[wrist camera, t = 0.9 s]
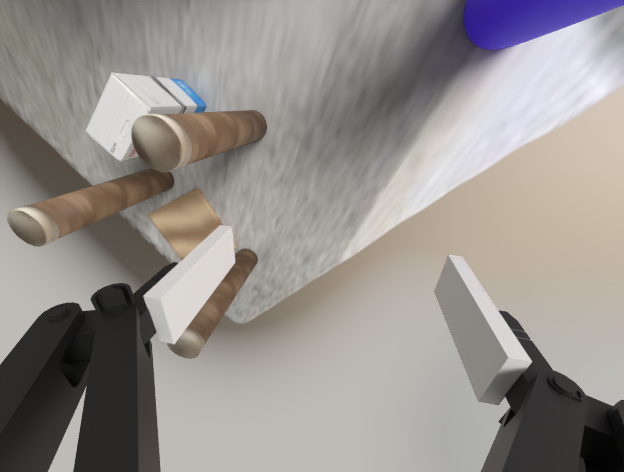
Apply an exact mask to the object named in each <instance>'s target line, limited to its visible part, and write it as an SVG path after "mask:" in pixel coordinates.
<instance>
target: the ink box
mask: <svg viewBox="0 0 624 472" xmlns="http://www.w3.org/2000/svg"><path fill="white" fill-rule="evenodd" d="M206 107H207V106H206V104H205V103H204V102H203V101H202V100H201V98H200V97H199V96H198V95H197V94H196V93H195V92H194V91H193V90H192V89H191V88H190V87H189V86H188V85H187V84H185V83H184V82H183V81H182V80H179V79H169V78H160V77H150V76H141V75H131V74H122V73H114V72H111V75H110V77H109V80H108V82H107V84H106V86H105V88H104V91H103V93H102V95H101V97H100V100H99V102H98V104H97V107H96V109H95V111H94V113H93V116H92V118H91V120H90V122H89V124H88V127H87V129H86V131H85V132H86V133H87V134H88V135H89V136H90V137H91V138H92V139H94V140H95V141H96V142H97V143H98V144H100V145H101V146H102V147H103V148H104V149H105V150H106V151H108V152H109V153H110V154H111V155H112V156H113V157H115V158H116V159H117V160H118V161H119V162H122V161H126V160H130V159H133V158H137V157H139V156H138V154H137V153H136V151H135V149H134V146H133V143H132V139H131V129H132V125H133V123H134V121H135V120H136V119H137V118H138V117H140V116H142V115H146V114H182V113H202V112H203V111H204V110H205V108H206Z"/></svg>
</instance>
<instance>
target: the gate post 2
mask: <svg viewBox="0 0 624 472" xmlns="http://www.w3.org/2000/svg"><path fill="white" fill-rule="evenodd" d="M266 130H267V124H266V121H265V119H264V117H263V116H262V115H261V114H260V113H259V112H257V111H253V110H249V111H226V112H204V113H182V114H146V115H142V116H140V117H138V118H137V119H136V120H135V121H134V123H133V125H132V129H131V139H132V143H133V146H134V149H135V151H136V153H137V154H138V156H139V157H140V158H141V160H142V161H143V162H144V163H146V164H147V165H148V166H149V167H151V168H153V169H155V170H157V171H161V172H169V171H172V170H175V169H178V168H181V167H183V166H184V165H187V164H190V163H193V162H196V161H199V160H202V159H205V158H208V157H211V156H213V155H216V154H219V153H222V152H225V151H228V150H231V149H234V148H237V147H239V146H242V145H245V144H248V143H251V142H254V141H257V140H260V139H261V138H263V137H264V135H265V133H266Z"/></svg>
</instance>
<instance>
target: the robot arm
mask: <svg viewBox="0 0 624 472" xmlns="http://www.w3.org/2000/svg"><path fill="white" fill-rule="evenodd" d="M234 264H235V253H234V243H233V234H232V226H224V225H220V226H219V227H218V228H216V229H215V230H214V231H213V232H212V233H211V234H210V235H209V236H208V237H207V238H206V239H205V240H203V241H202V242H201V243H200V244H199V245H198V246H197V247H196V248H195V249H194V250H193V251H191V252H190V253H189V254H188V255H187V256H186V257H185V258H184V259H183V260H182V261H181V262H180V263H176V262H173V263H171V264H169V265H167V266H165V267H164V268H163V269H161V271H159V272H158V273H157V275H155V276H153V277H152V278H151V280H149V281H148V282H147V283H145V284H144V285H143V286H142V287H141V288H140V289H138V290H137V291H136V292H135V293H134V294H133V293H132V291H131V288H130V286H129V285H127V284H124V283H118V284H112V285H109V286H106V287H103V288H102V289H100V290H98V291H97V292H96V293H94V294H93V296H92V297H91V301H92V304H93V305H94V307H95V309H96V310H91V311H82V309H81V307H80V306H79V304H77V303H64V304H60V305H57V306H54V307H52V308H50V309H48V310H47V311H45V312H43V313H42V314H41V315H40V316H39V317H38V318H37V319H36V321H35V322H34V323H33V325H32V326H31V327H30V328H29V330H28V331H27V332H26V333H25V335H24V336H23V337H22V338H21V339H20V341H19V342H18V343H17V344H16V346H15V347H14V348H13V349H12V351H11V352H10V353H9V354H8V356H7V357H6V358H5V359H4V361H3V362H2V363H1V365H0V472H48V470H49V468H50V465H51V463H52V460H53V459H54V456H55V454H56V452H57V450H58V448H59V445H60V443H61V441H62V439H63V437H64V434H65V432H66V430H67V428H68V425H69V423H70V421H71V419H72V417H73V414H74V412H75V410H76V408H77V406H78V403H79V401H80V399H81V396H82V394H83V392H84V390H85V388H86V386H87V388H86V394H85V400H84V407H83V413H82V420H81V426H80V433H79V439H78V445H77V452H76V459H75V465H74V471H73V472H160V457H159V443H158V429H157V414H156V399H155V385H154V370H153V357H152V356H153V355H152V344H151V341H150V339H151V338H152V337H153V335H154V334H155V333H156V334H157V337H158V340H159V341H160V342H166V343H171V344H175V343H176V341H177V340H178V339H179V337H180V336H181V335H182V333H183V332H184V331H185V329H186V328H187V327H188V325H189V324H190V323H191V321H192V320H193V319H194V317H195V316H196V315H197V313H198V312H199V311H200V309H201V308H202V307H203V305H204V304H205V303H206V301H207V300H208V299H209V297H210V296H211V295H212V293H213V292H214V290H215V289H216V288H217V286H218V285H219V284H220V282H221V281H222V280H223V278H224V277H225V276H226V274H227V273H228V272H229V270H230V269H231V268H232V266H233V265H234ZM434 292H435V295H436V297H437V300H438V302H439V305H440V307H441V310H442V312H443V315H444V317H445V320H446V322H447V325H448V327H449V330H450V332H451V335H452V337H453V340H454V342H455V345H456V347H457V350H458V352H459V355H460V357H461V360H462V362H463V364H464V367H465V370H466V372H467V375H468V377H469V380H470V382H471V385H472V387H473V390H474V392H475V395H476V397H477V400H478V401H479V402H484V403H489V404H494V405H499V404H500V402H501V401H502V400H503V399H504V397H506V399H507V401H508V403H509V405H510V408H509V410H508V411H507V412H506V413H505V414H504V416H503V417H502V418H501V419H500V420H499V423H501V426H500V428H499V431H498V433H497V436H496V438H495V440H494V442H493V445H492V447H491V449H490V452H489V454H488V456H487V459H486V461H485V463H484V466H483V468H482V470H481V472H624V400H621V401H619V402H618V403H616V404H615V405H614V406H611V405H609V404H606V403H604V402H601V401H599V400H596V399H594V398H592V397H589V396H587V395H585V393H584V392H583V391H582V389H581V388H580V387H579V386H578V385H577V384H576V383H575V382H573V381H572V380H570V379H569V378H567V377H566V376H565V375H563V374H561V373H558V372H556V371H553V370H552V368H551V367H550V365H549V364H548V363H547V361H546V360H545V358H544V357H543V356H542V354H541V353H540V352H539V350H538V349H537V347H536V346H535V345H534V343H533V342H532V341H530V338H529V336H528V335H527V333H525V332H524V329H523V328H522V327H521V325H520V324H519V322H518V321H517V320H516V319H515V318H513V317H512V316H511V315H510V314H509V313H508V312H505V311H499V310H497V308H496V307H495V305H494V304H493V302H492V301H491V299H490V298H489V296H488V295H487V293H486V292H485V290H484V289H483V287H482V286H481V284H480V283H479V281H478V280H477V278H476V277H475V275H474V274H473V272H472V271H471V269H470V268H469V266H468V265H467V263H466V261H465V260H464V258H463V257H461V256H453V255H448V257H447V260H446V262H445V265H444V268H443V270H442V273H441V275H440V278H439V280H438V283H437V286H436V288H435V291H434Z"/></svg>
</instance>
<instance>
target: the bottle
mask: <svg viewBox="0 0 624 472" xmlns="http://www.w3.org/2000/svg"><path fill="white" fill-rule="evenodd" d="M622 5H624V0H467V1H466V5H465V10H464V26H465V30H466V33H467V35H468V37H469V39H470V40H471V41H472V42H473V43H474V44H475V45H477V46H478V47H480V48H483V49H488V50H495V49H503V48H507V47H511V46H514V45H517V44H520V43H523V42H526V41H529V40H532V39H534V38H537V37H540V36H543V35H546V34H548V33H551V32H554V31H556V30H559V29H562V28H564V27H567V26H570V25H572V24H575V23H578V22H581V21H583V20H586V19H588V18H591V17H594V16H596V15H599V14H601V13H604V12H607V11H609V10H612V9H614V8H617V7H620V6H622Z"/></svg>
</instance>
